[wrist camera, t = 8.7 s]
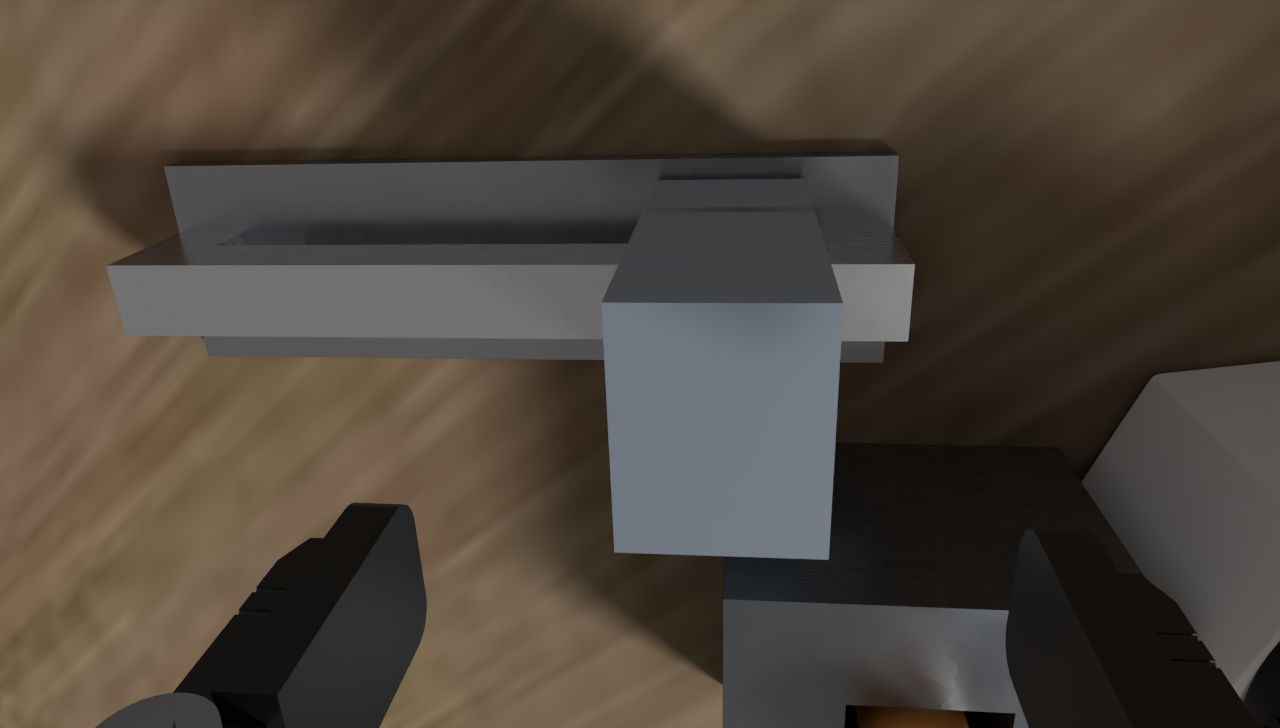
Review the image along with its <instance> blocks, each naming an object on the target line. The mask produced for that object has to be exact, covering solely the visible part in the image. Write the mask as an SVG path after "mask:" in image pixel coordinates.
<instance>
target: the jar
mask: <svg viewBox="0 0 1280 728" xmlns="http://www.w3.org/2000/svg"><path fill="white" fill-rule="evenodd" d="M1081 483H1082V484H1083V486H1084V487H1085V489H1086V490H1087V492H1088V493H1089V494H1090V496H1091V497H1092V499H1093V500H1094V502H1095V503H1096V505H1097V506H1098V508H1099V509H1100V511H1101V512H1102V514H1103V515H1104V517H1105V518H1106V520H1107V521H1108V523H1109V524H1110V526H1111V527H1112V528H1113V530H1114V531H1115V533H1116V534H1117V536H1118V537H1119V539H1120V540H1121V542H1122V543H1123V545H1124V546H1125V548H1126V549H1127V551H1128V552H1129V554H1130V555H1131V557H1132V558H1133V560H1134V561H1135V563H1136V564H1137V565H1138V567H1139V568H1140V570H1141V571H1142V573H1143V574H1144V576H1145V577H1146V579H1147V580H1148V581H1150V582H1151V583H1152V584H1154V585H1155V586H1156V587H1157V588H1159V589H1160V590H1161V591H1163V592H1164V593H1165V594H1166V595H1168V596H1169V597H1170V598H1172V599H1173V600H1174V601H1175V602H1176V603H1177V604H1178V606H1179V607H1180V609H1181V610H1182V612H1183V613H1184V615H1185V616H1186V618H1187V619H1188V621H1189V622H1190V624H1191V625H1192V627H1193V628H1194V630H1195V631H1196V633H1197V634H1198V635H1197V637H1198V641H1203V643H1204V644H1205V646H1206V647H1207V649H1208V650H1209V652H1210V653H1211V655H1212V656H1213V658H1214V659H1215V661H1216V662H1215V665H1216V668H1221V670H1222V671H1223V673H1224V674H1225V676H1226V677H1227V679H1228V680H1229V682H1230V683H1231V685H1232V686H1233V688H1234V689H1235V691H1236V692H1237V694H1238V695H1239V697H1240V698H1241V700H1242V701H1243V703H1244V704H1245V706H1246V707H1247V709H1248V710H1249V712H1250V713H1251V715H1252V716H1253V718H1254V719H1255V721H1256V722H1257V724H1258V725H1259V727H1260V728H1280V361H1274V362H1264V363H1255V364H1246V365H1236V366H1227V367H1218V368H1208V369H1199V370H1189V371H1180V372H1171V373H1161V374H1157V375H1154V376H1153V377H1152V378H1151V379H1150V380H1149V382H1148V383H1147V385H1146V386H1145V388H1144V389H1143V391H1142V392H1141V394H1140V395H1139V397H1138V398H1137V400H1136V401H1135V403H1134V404H1133V406H1132V407H1131V409H1130V410H1129V411H1128V413H1127V414H1126V416H1125V417H1124V419H1123V420H1122V422H1121V423H1120V425H1119V426H1118V428H1117V429H1116V431H1115V432H1114V434H1113V435H1112V437H1111V438H1110V440H1109V441H1108V443H1107V444H1106V446H1105V447H1104V449H1103V450H1102V452H1101V453H1100V455H1099V456H1098V458H1097V459H1096V460H1095V462H1094V463H1093V465H1092V466H1091V468H1090V469H1089V471H1088V472H1087V474H1086V475H1085V477H1084V478H1083V480H1082V481H1081Z"/></svg>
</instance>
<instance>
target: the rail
mask: <svg viewBox="0 0 1280 728" xmlns="http://www.w3.org/2000/svg"><path fill="white" fill-rule="evenodd" d="M898 165H899V155H898V154H897V153H896V152H852V153H786V154H720V155H653V156H587V157H520V158H454V159H388V160H321V161H255V162H189V163H173V164H170V165H167V166H164V170H165V174H166V179H167V183H168V187H169V191H170V196H171V200H172V204H173V208H174V213H175V217H176V221H177V225H178V230H179V234H176V235H174V236H172V237H170V238H167V239H165V240H163V241H161V242H158V243H156V244H154V245H152V246H149V247H147V248H145V249H143V250H140V251H138V252H136V253H133V254H131V255H129V256H127V257H124V258H122V259H120V260H118V261H115V262H113V263H111V264H109V265H106V267H107V270H108V274H109V278H110V282H111V285H112V289H113V293H114V296H115V300H116V304H117V307H118V311H119V315H120V318H121V322H122V326H123V330H124V333H125V336H204V340H205V344H206V349H207V353H208V356H250V357H348V358H446V359H544V360H604V344H603V325H602V306H601V302H602V300H603V298H604V296H605V293H606V291H607V289H608V287H609V284H610V282H611V280H612V278H613V276H614V273H615V271H616V269H617V267H618V264H619V262H620V260H621V258H622V255H623V253H624V251H625V249H626V246H627V244H628V242H629V240H630V238H631V235H632V233H633V231H634V229H635V226H636V224H637V222H638V220H639V217H640V215H641V213H642V211H643V209H644V206H645V204H646V202H647V200H648V197H649V195H650V193H651V191H652V188H653V186H654V184H655V182H656V180H725V179H805V181H806V184H807V188H808V191H809V194H810V197H811V201H812V204H813V207H814V210H815V213H816V217H817V220H818V223H819V226H820V230H821V233H822V236H823V239H824V242H825V246H826V249H827V252H828V255H829V259H830V262H831V265H832V268H833V271H834V275H835V278H836V281H837V284H838V288H839V291H840V294H841V297H842V301H843V319H842V337H841V354H840V363H883V359H884V346H885V341H899V342H908V338H909V327H910V315H911V304H912V292H913V281H914V270H915V264H914V262H913V260H912V259H911V257H910V255H909V254H908V252H907V250H906V249H905V247H904V245H903V244H902V242H901V241H900V239H899V237H898V236H897V234H896V232H895V231H894V217H895V204H896V191H897V178H898Z"/></svg>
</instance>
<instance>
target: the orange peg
mask: <svg viewBox="0 0 1280 728" xmlns="http://www.w3.org/2000/svg"><path fill="white" fill-rule="evenodd" d="M855 706H856V713H857V719H858V726H859V728H969V725H968V722H967V718H966V715H965V712H964V711H958V710H938V709H919V708H899V707H880V706H860V705H855Z"/></svg>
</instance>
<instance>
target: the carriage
mask: <svg viewBox="0 0 1280 728" xmlns="http://www.w3.org/2000/svg"><path fill="white" fill-rule="evenodd" d="M601 306H602V325H603V344H604V363H605V382H606V401H607V420H608V439H609V459H610V478H611V497H612V516H613V535H614V553H643V554H672V555H701V556H731V557H760V558H790V559H819V560H829V547H830V530H831V512H832V495H833V477H834V460H835V442H836V424H837V407H838V389H839V372H840V354H841V337H842V319H843V301H842V297H841V294H840V291H839V288H838V284H837V281H836V278H835V275H834V271H833V268H832V265H831V262H830V259H829V255H828V252H827V249H826V246H825V242H824V239H823V236H822V233H821V230H820V226H819V223H818V220H817V217H816V213H815V210H814V207H813V204H812V201H811V197H810V194H809V191H808V188H807V184H806V181H805V179H725V180H656V182H655V184H654V186H653V188H652V191H651V193H650V195H649V197H648V200H647V202H646V204H645V206H644V209H643V211H642V213H641V215H640V217H639V220H638V222H637V224H636V226H635V229H634V231H633V233H632V235H631V238H630V240H629V242H628V244H627V246H626V249H625V251H624V253H623V255H622V258H621V260H620V262H619V264H618V267H617V269H616V271H615V273H614V276H613V278H612V280H611V282H610V284H609V287H608V289H607V291H606V293H605V296H604V298H603V300H602V302H601Z"/></svg>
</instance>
